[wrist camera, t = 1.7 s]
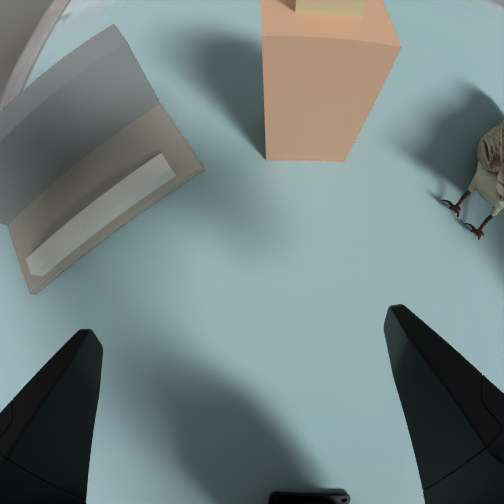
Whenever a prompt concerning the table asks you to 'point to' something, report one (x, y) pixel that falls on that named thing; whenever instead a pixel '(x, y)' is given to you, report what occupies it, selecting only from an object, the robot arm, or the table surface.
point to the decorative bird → (488, 174)
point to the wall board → (84, 156)
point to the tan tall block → (322, 73)
